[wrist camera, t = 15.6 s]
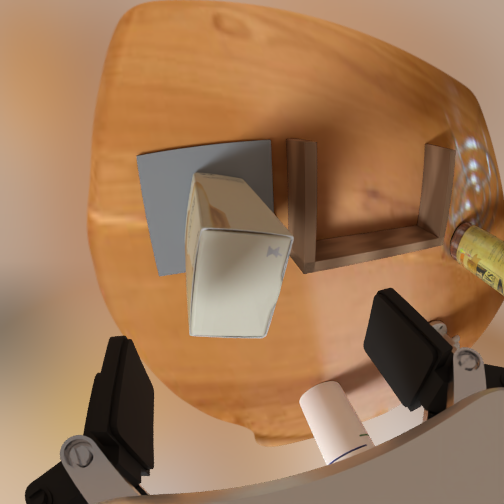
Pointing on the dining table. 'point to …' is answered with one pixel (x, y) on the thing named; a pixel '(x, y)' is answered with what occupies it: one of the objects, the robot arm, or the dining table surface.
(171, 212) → the grey rubber mat
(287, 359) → the dining table surface
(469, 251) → the sauce bottle
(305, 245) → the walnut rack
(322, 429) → the cylindrical container
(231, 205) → the skincare box
